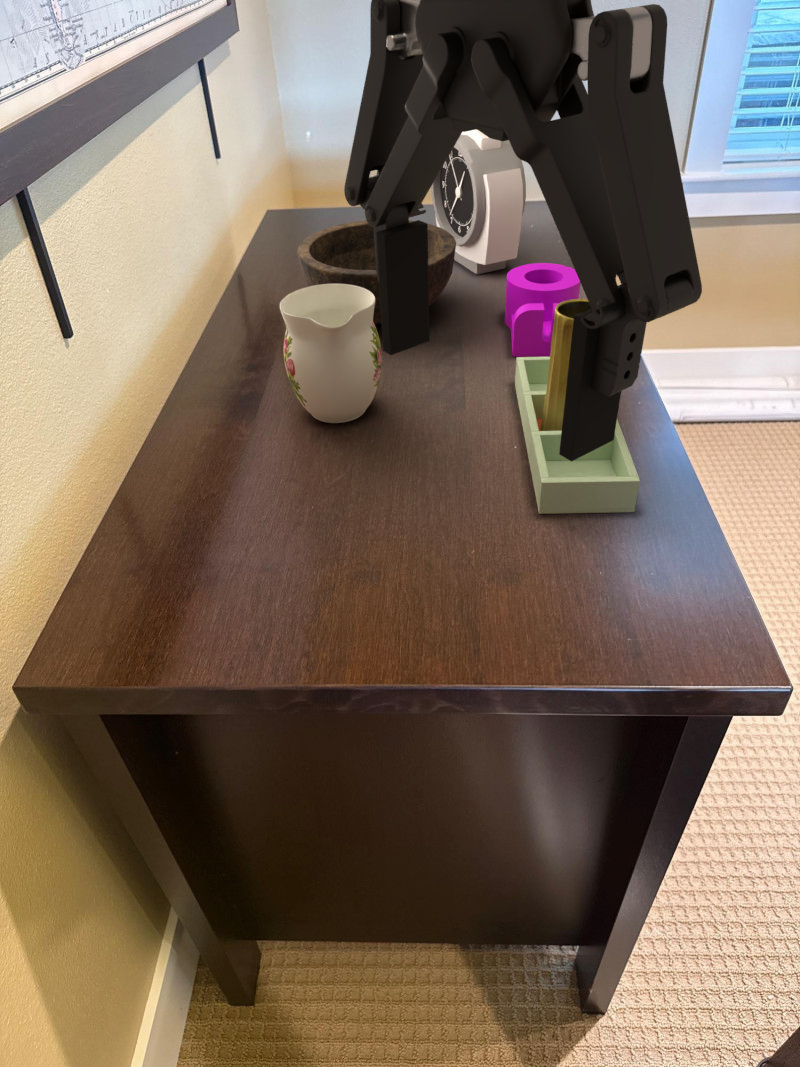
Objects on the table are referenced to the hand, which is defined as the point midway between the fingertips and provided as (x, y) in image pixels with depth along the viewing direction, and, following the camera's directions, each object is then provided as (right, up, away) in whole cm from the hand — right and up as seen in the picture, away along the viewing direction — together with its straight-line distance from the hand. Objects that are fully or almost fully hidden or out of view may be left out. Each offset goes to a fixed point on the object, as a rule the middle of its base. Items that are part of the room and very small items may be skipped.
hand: (486, 391), depth 39 cm
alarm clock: (+8, +37, +88) cm, 96 cm away
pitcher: (-12, +8, +53) cm, 55 cm away
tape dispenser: (+15, +21, +67) cm, 72 cm away
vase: (+14, +3, +45) cm, 47 cm away
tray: (+14, +3, +45) cm, 47 cm away
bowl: (-7, +24, +73) cm, 77 cm away
